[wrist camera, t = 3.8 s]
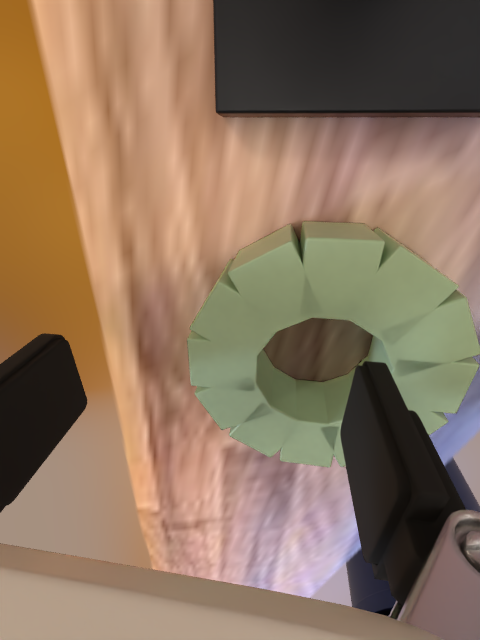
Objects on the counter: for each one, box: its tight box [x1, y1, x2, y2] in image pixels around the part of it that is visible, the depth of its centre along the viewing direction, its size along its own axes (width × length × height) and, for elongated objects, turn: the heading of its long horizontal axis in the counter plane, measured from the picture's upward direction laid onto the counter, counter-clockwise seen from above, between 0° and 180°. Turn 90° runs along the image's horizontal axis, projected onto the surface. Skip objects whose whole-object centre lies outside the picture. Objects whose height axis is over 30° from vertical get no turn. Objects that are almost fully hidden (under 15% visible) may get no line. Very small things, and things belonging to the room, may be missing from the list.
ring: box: [187, 221, 480, 467], centre depth 12 cm, size 10×10×3 cm
